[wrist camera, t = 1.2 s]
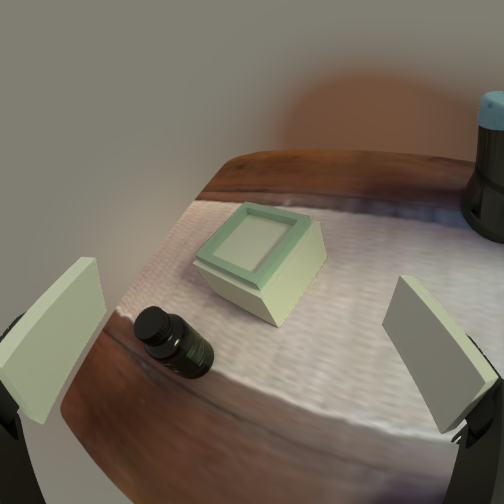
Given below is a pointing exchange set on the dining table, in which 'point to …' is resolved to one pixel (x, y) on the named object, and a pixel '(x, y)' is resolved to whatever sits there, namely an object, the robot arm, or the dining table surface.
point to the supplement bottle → (174, 343)
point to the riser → (263, 259)
